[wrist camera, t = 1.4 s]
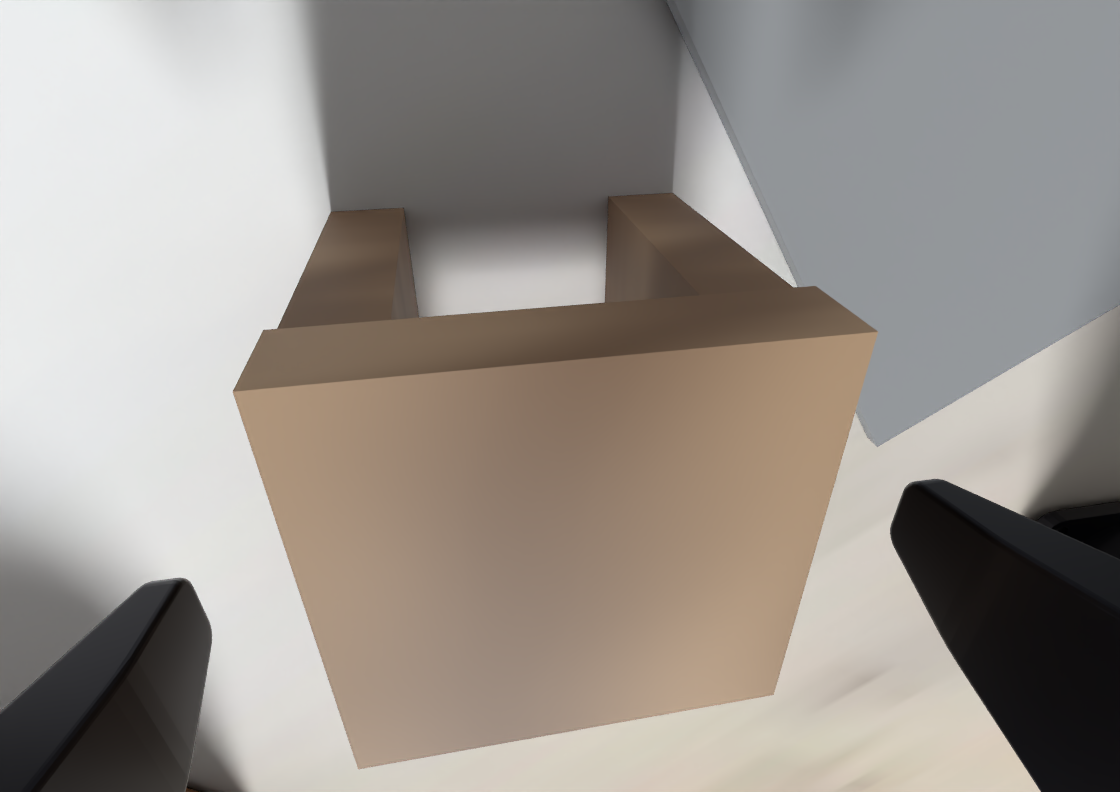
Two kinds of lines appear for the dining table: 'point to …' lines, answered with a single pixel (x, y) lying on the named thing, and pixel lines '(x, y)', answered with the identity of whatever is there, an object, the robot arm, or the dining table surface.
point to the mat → (929, 172)
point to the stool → (550, 481)
